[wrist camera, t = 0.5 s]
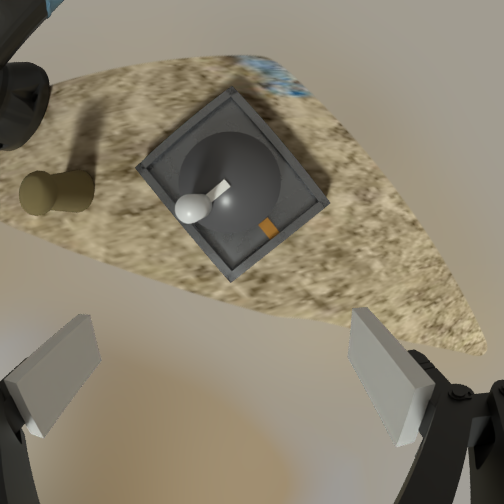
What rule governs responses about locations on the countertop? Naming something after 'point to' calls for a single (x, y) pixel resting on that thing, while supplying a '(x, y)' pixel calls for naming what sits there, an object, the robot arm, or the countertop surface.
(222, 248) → the dark grey tray
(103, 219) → the countertop surface
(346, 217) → the countertop surface
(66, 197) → the cork
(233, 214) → the lever
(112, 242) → the countertop surface
